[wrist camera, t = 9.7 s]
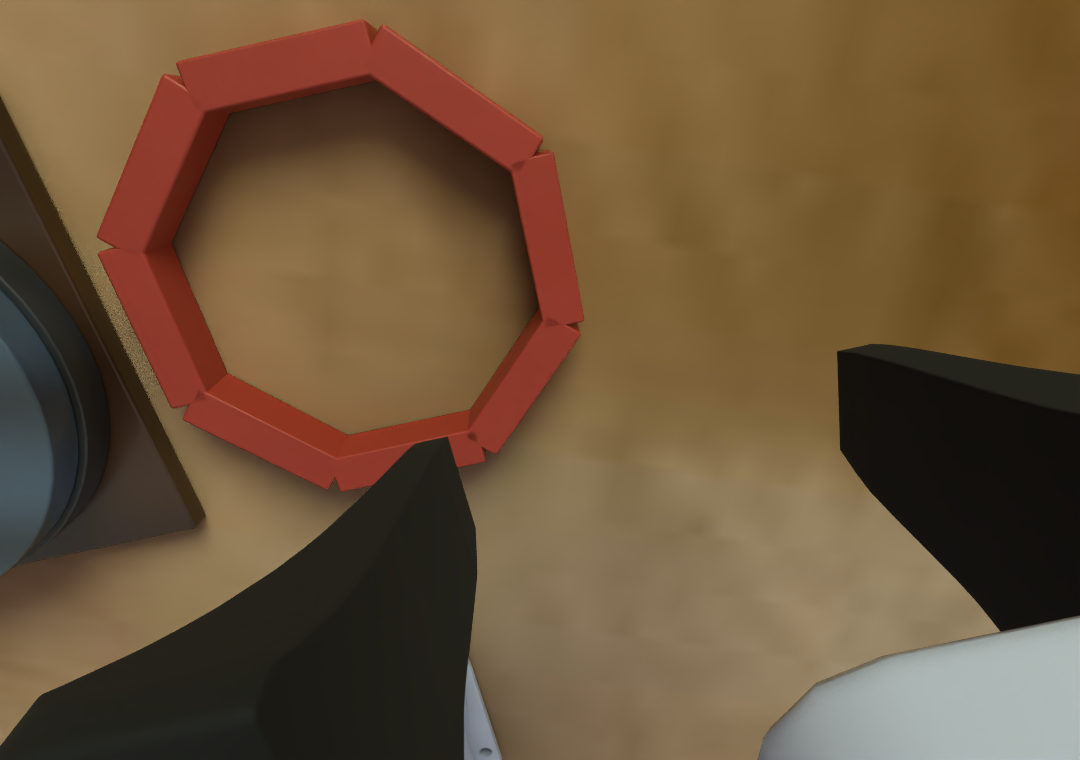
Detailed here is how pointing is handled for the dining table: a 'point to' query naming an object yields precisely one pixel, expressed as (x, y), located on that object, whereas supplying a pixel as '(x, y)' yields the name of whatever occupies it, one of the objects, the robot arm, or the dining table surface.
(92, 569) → the dining table surface
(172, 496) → the stand
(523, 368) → the brick ring
